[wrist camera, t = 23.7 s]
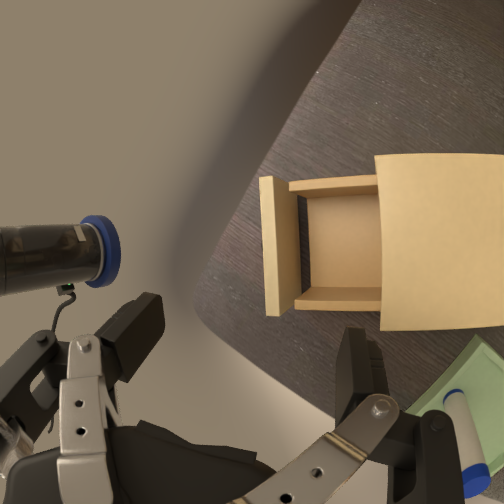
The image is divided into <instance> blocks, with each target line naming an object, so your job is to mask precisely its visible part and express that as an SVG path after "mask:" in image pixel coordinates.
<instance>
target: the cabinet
mask: <svg viewBox="0 0 504 504" xmlns="http://www.w3.org/2000/svg"><path fill="white" fill-rule="evenodd" d="M375 168H376V175H377V184H378V195H379V208H380V224H381V250H382V293H381V313H380V331H416V330H446V329H464V328H479V327H491V326H502V325H504V155H494V154H466V153H421V154H392V155H375Z"/></svg>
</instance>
